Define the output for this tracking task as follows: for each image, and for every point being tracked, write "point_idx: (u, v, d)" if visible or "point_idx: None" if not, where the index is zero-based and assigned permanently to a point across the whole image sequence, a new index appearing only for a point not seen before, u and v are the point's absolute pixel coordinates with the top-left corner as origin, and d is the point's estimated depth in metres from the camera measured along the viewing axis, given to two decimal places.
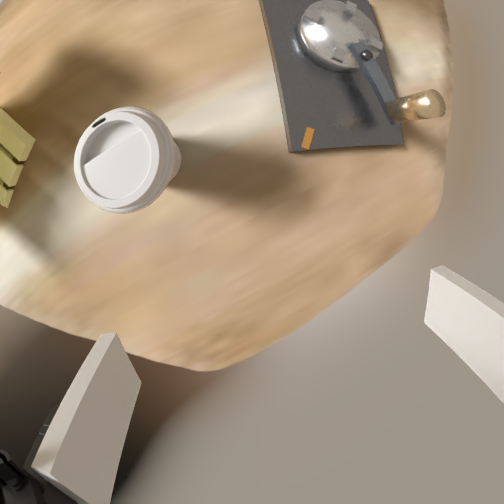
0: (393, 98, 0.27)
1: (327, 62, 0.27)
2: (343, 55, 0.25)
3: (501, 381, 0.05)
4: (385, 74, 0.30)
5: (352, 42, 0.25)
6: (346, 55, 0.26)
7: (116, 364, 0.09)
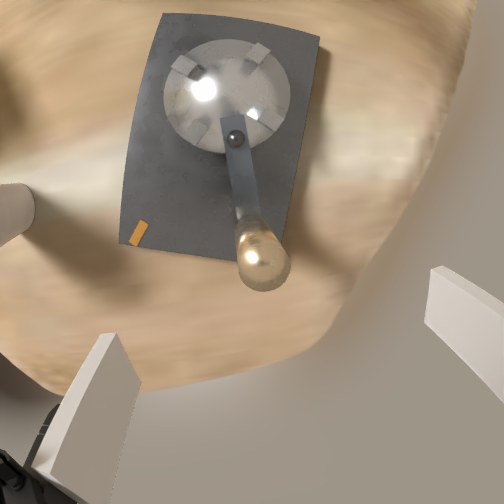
0: (256, 213, 0.23)
1: None
2: (199, 135, 0.21)
3: (501, 381, 0.05)
4: (286, 163, 0.26)
5: (231, 112, 0.21)
6: (210, 132, 0.22)
7: (116, 364, 0.09)
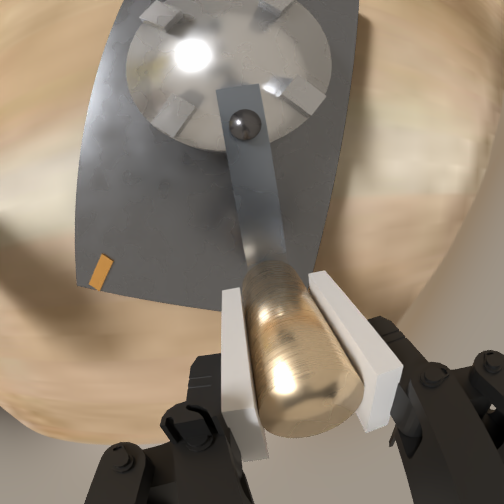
0: (278, 255, 0.14)
1: None
2: (180, 120, 0.12)
3: None
4: (321, 169, 0.17)
5: (236, 83, 0.12)
6: (200, 116, 0.12)
7: (244, 315, 0.11)
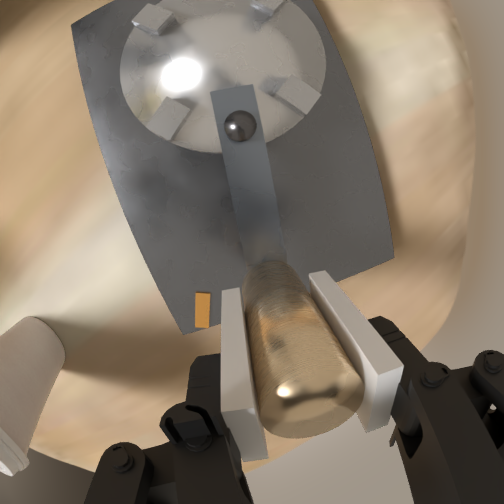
0: (278, 256, 0.14)
1: None
2: (175, 123, 0.12)
3: None
4: (350, 118, 0.16)
5: (231, 84, 0.12)
6: (195, 119, 0.12)
7: (244, 315, 0.11)
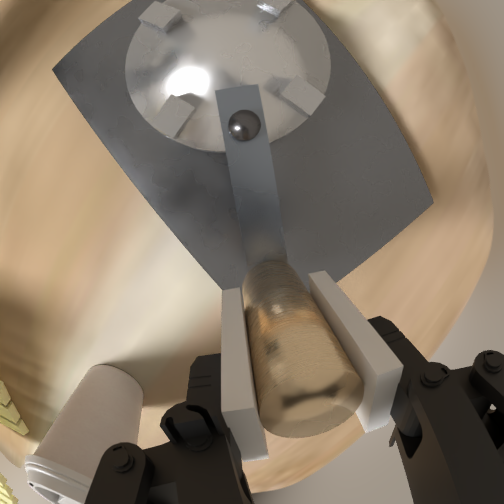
0: (279, 256, 0.14)
1: None
2: (179, 121, 0.12)
3: None
4: (358, 84, 0.15)
5: (236, 84, 0.12)
6: (199, 117, 0.12)
7: (244, 315, 0.11)
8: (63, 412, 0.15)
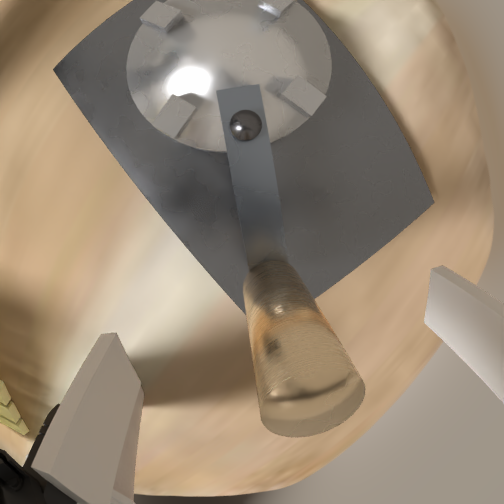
0: (279, 255, 0.14)
1: None
2: (181, 121, 0.12)
3: (501, 381, 0.05)
4: (358, 84, 0.15)
5: (237, 84, 0.12)
6: (201, 117, 0.12)
7: (116, 364, 0.09)
8: None
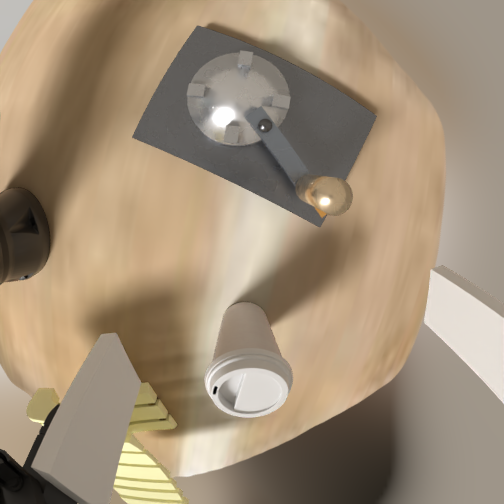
0: (305, 172, 0.28)
1: (224, 143, 0.29)
2: (236, 135, 0.27)
3: (501, 381, 0.05)
4: (303, 77, 0.28)
5: (250, 109, 0.27)
6: (242, 130, 0.27)
7: (116, 364, 0.09)
8: (220, 336, 0.32)
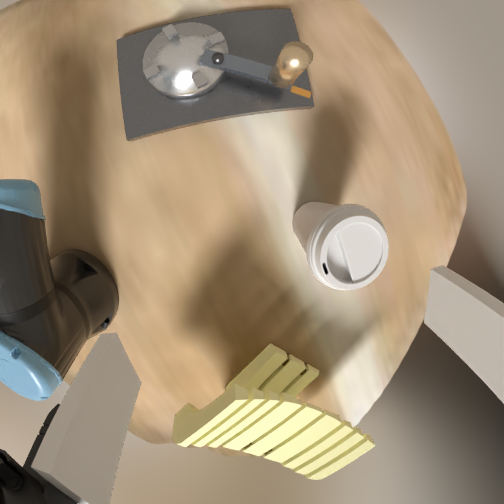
0: (270, 68, 0.28)
1: (199, 92, 0.30)
2: (203, 77, 0.28)
3: (501, 381, 0.05)
4: (218, 19, 0.28)
5: (199, 57, 0.27)
6: (205, 73, 0.28)
7: (116, 364, 0.09)
8: (301, 235, 0.34)
